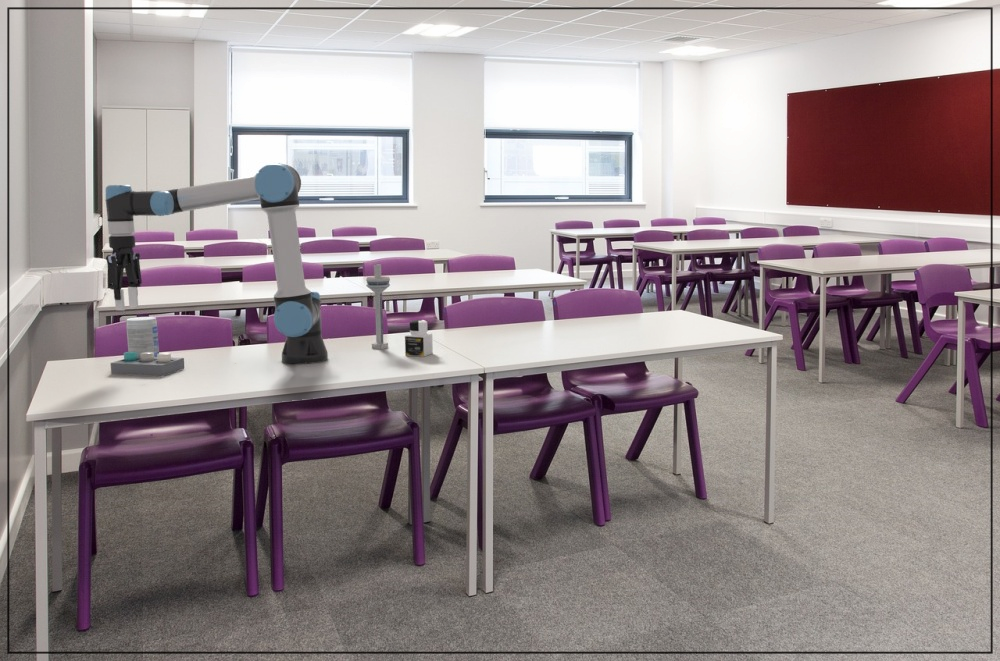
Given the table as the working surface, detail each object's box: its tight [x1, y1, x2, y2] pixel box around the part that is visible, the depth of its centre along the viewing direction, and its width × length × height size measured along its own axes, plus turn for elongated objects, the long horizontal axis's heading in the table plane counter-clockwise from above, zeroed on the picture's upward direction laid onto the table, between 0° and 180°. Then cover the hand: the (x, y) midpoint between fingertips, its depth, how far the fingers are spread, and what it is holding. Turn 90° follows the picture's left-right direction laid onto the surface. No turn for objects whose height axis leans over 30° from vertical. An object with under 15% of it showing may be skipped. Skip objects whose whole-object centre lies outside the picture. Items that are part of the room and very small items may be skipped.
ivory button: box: [157, 352, 172, 363], centre depth 280 cm, size 4×4×3 cm
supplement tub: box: [125, 316, 160, 357], centre depth 297 cm, size 10×10×15 cm
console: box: [110, 356, 185, 377], centre depth 282 cm, size 18×12×4 cm, turn 77°
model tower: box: [365, 264, 391, 350], centre depth 318 cm, size 8×8×30 cm
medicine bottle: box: [404, 319, 434, 358], centre depth 306 cm, size 7×7×12 cm
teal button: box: [123, 351, 138, 362], centre depth 283 cm, size 4×4×3 cm
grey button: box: [140, 352, 154, 362], centre depth 281 cm, size 4×4×3 cm
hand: (127, 308), depth 280 cm, fingers open, 6 cm apart
